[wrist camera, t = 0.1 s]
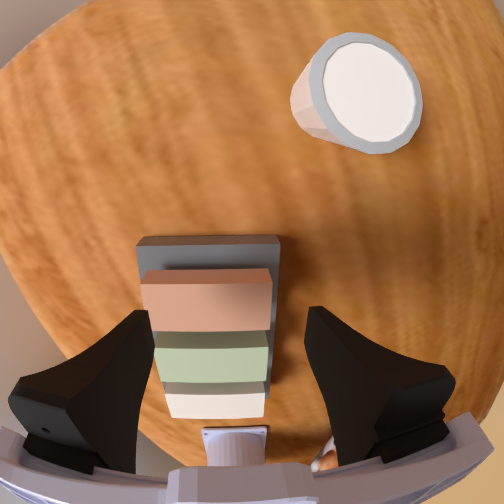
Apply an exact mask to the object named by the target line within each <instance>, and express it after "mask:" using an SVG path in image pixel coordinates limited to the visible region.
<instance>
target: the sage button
mask: <svg viewBox="0 0 504 504" xmlns="http://www.w3.org/2000/svg"><path fill="white" fill-rule="evenodd" d="M154 342H155V350H154V356H155V360H156V364H157V368H158V372H159V376H160V380H161V382H187V383H226V382H253V381H266V374H267V361H268V342H267V338H266V333H265V330H252V331H213V332H180V331H157V334H156V337H155V341H154Z"/></svg>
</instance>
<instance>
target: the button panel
mask: <svg viewBox="0 0 504 504" xmlns="http://www.w3.org/2000/svg"><path fill="white" fill-rule="evenodd" d="M280 246H281V244H280V242H279V240H278V238H277V236H276V235H214V236H164V237H143V238H142V239H141V240H140V242H139V243H138V244H137V245H136V252H137V259H138V266H139V273H140V279H141V281H142V279H143V277H144V275H145V273H146V271H147V270H210V269H264V268H268V270H269V273H270V276H271V279H272V282H273V284H272V301H271V317H270V330H265V333H266V338H267V342H268V361H267V374H266V381H263V384H264V390H265V398H269V391H270V380H271V369H272V358H273V346H274V334H275V321H276V308H277V294H278V279H279V263H280ZM152 333H153V338H154V341H155V337H156V334H157V331H152ZM163 386H164V389H165V388H166V382H163Z"/></svg>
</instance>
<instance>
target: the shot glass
mask: <svg viewBox="0 0 504 504" xmlns="http://www.w3.org/2000/svg"><path fill="white" fill-rule="evenodd" d="M290 104H291V109H292V115H293V116H294V118H295V119H296V121H297V123H298V124H299V126H300V127H301V128H302V129H303V130H305V131H306V132H307V133H308V134H310V135H311V136H312V137H315V138H319V139H322V140H325V141H329V142H332V143H336V144H339V145H342V146H346V147H349V148H352V149H355V150H358V151H361V152H364V153H367V154H381V153H392V152H393V151H395V150H397V149H398V148H400V147H402V146H403V145H405V144H407V143H408V142H409V141H410V139H411V138H412V136H413V135H414V133H415V132H416V130H417V128H418V127H419V124H420V119H421V114H422V108H423V101H422V95H421V89H420V84H419V81H418V79H417V77H416V75H415V73H414V71H413V69H412V67H411V66H410V64H409V62H408V61H407V60H406V59H405V58H404V57H403V56H402V55H401V54H400V53H399V52H398V51H397V50H396V49H395V48H394V47H393V46H392V45H391V44H389V43H387V42H385V41H383V40H381V39H379V38H377V37H375V36H373V35H371V34H364V33H353V32H347V33H344V34H341V35H339V36H336V37H333V38H331V39H328V40H327V41H326V42H325V43H324V45H323V46H322V47H321V48H320V49H319V50H318V51H317V53H316V54H315V55H314V56H313V58H312V59H311V60H310V62H309V63H308V65H307V66H306V68H305V69H304V71H303V72H302V74H301V75H300V77H299V78H298V79H297V81H296V82H295V84H294V85H293V88H292V93H291V97H290Z"/></svg>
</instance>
